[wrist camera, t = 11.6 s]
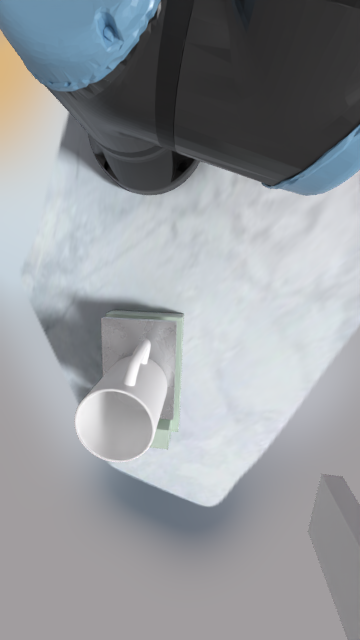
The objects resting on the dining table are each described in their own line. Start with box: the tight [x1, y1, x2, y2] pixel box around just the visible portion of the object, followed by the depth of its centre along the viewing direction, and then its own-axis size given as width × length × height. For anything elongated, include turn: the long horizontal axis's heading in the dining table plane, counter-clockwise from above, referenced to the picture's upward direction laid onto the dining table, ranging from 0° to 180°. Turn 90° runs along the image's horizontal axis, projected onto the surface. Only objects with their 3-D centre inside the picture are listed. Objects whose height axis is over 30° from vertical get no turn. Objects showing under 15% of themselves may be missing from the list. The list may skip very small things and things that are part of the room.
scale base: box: [106, 310, 184, 449], centre depth 39 cm, size 19×11×7 cm, turn 178°
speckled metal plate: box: [101, 317, 177, 420], centre depth 38 cm, size 14×10×3 cm
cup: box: [74, 339, 167, 462], centre depth 31 cm, size 8×12×10 cm
